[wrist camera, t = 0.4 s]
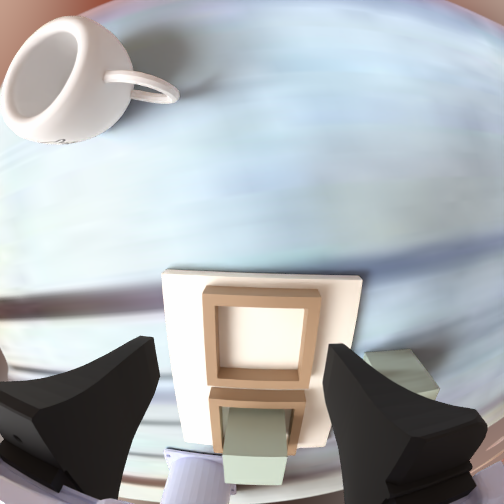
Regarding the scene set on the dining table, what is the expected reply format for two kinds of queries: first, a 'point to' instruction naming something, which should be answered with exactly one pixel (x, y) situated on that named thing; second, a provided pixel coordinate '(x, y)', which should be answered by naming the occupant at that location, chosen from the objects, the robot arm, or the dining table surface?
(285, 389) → the puzzle board
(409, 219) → the dining table surface
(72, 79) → the mug
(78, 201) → the dining table surface
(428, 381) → the green block
